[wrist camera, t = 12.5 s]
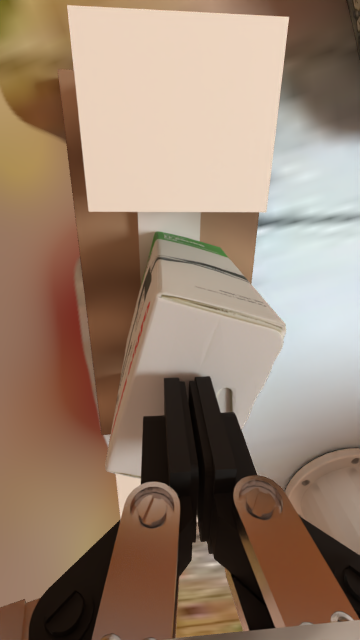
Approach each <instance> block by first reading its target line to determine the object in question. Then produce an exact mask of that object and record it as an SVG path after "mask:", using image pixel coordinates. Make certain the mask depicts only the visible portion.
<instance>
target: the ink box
mask: <svg viewBox="0 0 360 640" xmlns="http://www.w3.org/2000/svg"><path fill="white" fill-rule="evenodd" d="M285 334H286V324H285V323H284V322H283V321H282V320H281V318H280V317H279V316H278V315H277V314H276V312H275V311H274V310H273V309H272V308H271V307H270V306H269V305H268V303H267V302H266V301H265V300H264V299H263V298H262V296H261V295H260V294H259V293H258V292H257V290H256V289H255V288H254V287H253V286H252V285H251V284H250V282H249V281H248V280H247V279H246V278H245V276H244V275H243V274H242V273H241V272H240V270H239V269H238V268H237V267H236V266H235V265H234V263H233V262H232V261H231V260H230V259H229V258H228V256H227V255H226V254H225V253H224V251H223V250H222V249H221V248H220V247H217V246H214V245H210V244H207V243H204V242H200V241H197V240H193V239H190V238H186V237H182V236H178V235H174V234H169V233H164V232H159V231H157V232H155V234H154V237H153V241H152V245H151V249H150V252H149V256H148V260H147V264H146V268H145V272H144V276H143V280H142V284H141V287H140V291H139V295H138V299H137V303H136V307H135V311H134V315H133V318H132V322H131V326H130V330H129V334H128V338H127V343H126V349H125V354H124V360H123V366H122V372H121V377H120V383H119V388H118V395H117V400H116V406H115V413H114V419H113V424H112V430H111V436H110V441H109V447H108V453H107V459H106V464H105V468H106V471H108V472H111V473H115V474H120V475H123V476H128V477H133V478H139V479H141V461H142V435H143V416H161V415H164V378H177V377H179V381H185V385H186V391H187V398H188V399H189V381H194V379H195V377H204V376H210V378H211V381H212V384H213V388H214V391H215V394H216V398H217V401H218V405H219V408H220V412H221V413H225V412H234V413H235V414H236V417H237V419H238V422H239V425H240V428H241V430H242V428H243V426H244V424H245V423H246V421H247V419H248V417H249V415H250V412H251V410H252V407H253V404H254V402H255V400H256V398H257V396H258V394H259V393H260V391H261V390H262V388H263V386H264V384H265V382H266V380H267V378H268V376H269V374H270V372H271V369H272V366H273V364H274V361H275V359H276V358H277V356H278V355H279V353H280V351H281V349H282V347H283V343H284V342H283V338H284V336H285Z"/></svg>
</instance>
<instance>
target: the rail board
mask: <svg viewBox="0 0 360 640" xmlns="http://www.w3.org/2000/svg"><path fill="white" fill-rule="evenodd" d="M58 77H59V85H60V93H61V102H62V110H63V118H64V126H65V135H66V143H67V151H68V160H69V168H70V176H71V184H72V193H73V200H74V209H75V218H76V226H77V234H78V242H79V250H80V259H81V267H82V276H83V284H84V292H85V300H86V309H87V317H88V325H89V334H90V342H91V350H92V358H93V367H94V375H95V383H96V392H97V400H98V408H99V416H100V425H101V433H102V435H107V434H111V430H112V424H113V419H114V413H115V406H116V400H117V395H118V388H119V383H120V377H121V372H122V366H123V360H124V354H125V349H126V343H127V338H128V334H129V330H130V326H131V322H132V318H133V315H134V311H135V307H136V303H137V299H138V295H139V291H140V287H141V284H142V280H143V276H144V272H145V268H146V264H147V260H148V256H149V252H150V249H151V245H152V241H153V237H154V234H155V232H157V231H159V232H164V233H169V234H174V235H178V236H182V237H186V238H190V239H193V240H197V241H200V242H204V243H207V244H210V245H214V246H217V247H220V248H221V249H222V250H223V251H224V253H225V254H226V255H227V256H228V258H229V259H230V260H231V261H232V262H233V263H234V265H235V266H236V267H237V268H238V269H239V270H240V272H241V273H242V274H243V275H244V276H245V278H246V279H247V280H248V281H249V282H250V284H251V282H252V272H253V263H254V254H255V245H256V235H257V226H258V217H259V212H89V211H88V201H87V191H86V182H85V172H84V162H83V153H82V143H81V133H80V124H79V114H78V104H77V95H76V85H75V75H74V70H68V69H58Z"/></svg>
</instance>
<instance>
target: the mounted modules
mask: <svg viewBox="0 0 360 640" xmlns="http://www.w3.org/2000/svg"><path fill="white" fill-rule="evenodd" d="M67 8H68V18H69V27H70V37H71V47H72V56H73V66H74V75H75V85H76V95H77V104H78V114H79V124H80V133H81V143H82V153H83V162H84V172H85V182H86V191H87V201H88V211H89V212H266V210H267V201H268V193H269V184H270V176H271V167H272V159H273V150H274V142H275V133H276V125H277V116H278V108H279V99H280V90H281V82H282V73H283V65H284V56H285V48H286V39H287V31H288V22H289V17H281V16H262V15H243V14H224V13H204V12H185V11H166V10H147V9H128V8H108V7H89V6H70V5H67ZM116 481H117V489H118V490H117V491H118V500H119V509H120V519H121V516H122V512H123V508H124V504H125V502H126V499H127V497H128V495H129V494H130V493H131V492H132V491H133V490H134V489H135V488H136V487H138V486H139V485H141V479H139V478H133V477H128V476H123V475H120V474H116ZM197 522H198V519H197Z"/></svg>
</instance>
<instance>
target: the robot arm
mask: <svg viewBox="0 0 360 640" xmlns="http://www.w3.org/2000/svg"><path fill="white" fill-rule="evenodd" d="M197 519H198V526H199V534H200V540H201V542H205V541H207V544H208V551H209V554H214V559H215V560H217V561H218V562H219V563H220V564H221V565H222V566H223V567H225V573H226V578H227V581H228V584H229V587H230V591H231V594H232V597H233V600H234V603H235V606H236V609H237V613H238V616H239V619H240V622H241V625H242V628H243V632H233V633H223V634H214V635H204V636H194V637H184V638H176V624H177V608H178V592H179V576H180V575H181V574H182V572H183V571H184V570H185V568H186V567H187V566H188V564H189V563H190V562H191V559H192V542H196V523H197ZM0 640H360V448H349V449H343V450H337V451H334V452H330V453H327V454H325V455H322V456H320V457H318V458H316V459H314V460H313V461H311V462H309V463H308V464H306V465H305V466H304V467H302V468H301V469H300V470H299V471H298V472H297V473H296V474H295V475H294V476H293V478H292V479H291V480H290V482H289V484H288V485H287V488H286V490H285V492H284V491H283V489H282V488H281V487H280V486H279V485H278V484H277V483H275V482H274V481H273V480H270V479H268V478H266V477H263V476H258V475H257V473H256V471H255V468H254V465H253V462H252V459H251V456H250V454H249V451H248V448H247V445H246V442H245V439H244V436H243V434H242V431H241V428H240V425H239V422H238V419H237V417H236V414H235V413H234V412H225V413H221V412H220V408H219V405H218V401H217V398H216V394H215V391H214V388H213V384H212V381H211V378H210V376H204V377H195V379H194V381H189V399H188V398H187V391H186V385H185V381H179V377H177V378H164V415H161V416H143V435H142V461H141V485H139V486H138V487H136V488H135V489H134V490H133V491H132V492H131V493H130V494H129V495H128V497H127V499H126V502H125V504H124V508H123V512H122V516H121V519H120V520H119V522H117V523H116V524H115V525H114V527H112V528H111V529H110V530H109V531H108V532H107V533H106V534H105V535H104V536H103V537H102V538H101V539H100V540H99V541H98V542H97V543H96V544H94V545H93V546H92V547H91V548H90V549H89V550H88V551H87V552H86V553H85V554H84V555H83V556H82V557H81V558H80V559H79V560H78V561H77V562H76V563H75V564H74V565H73V566H72V567H70V568H69V569H68V570H67V571H66V572H65V573H64V574H63V575H62V576H61V577H60V578H59V579H58V580H57V581H56V582H55V583H54V584H53V585H52V586H51V587H50V588H49V589H48V590H47V591H46V592H45V593H44V595H43V596H42V597H41V598H39V599H36V600H33V601H30V602H27V603H26V601H25V599H23V600H20V601H17V602H14V603H11V604H9V605H6V606H3V607H0Z"/></svg>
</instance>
